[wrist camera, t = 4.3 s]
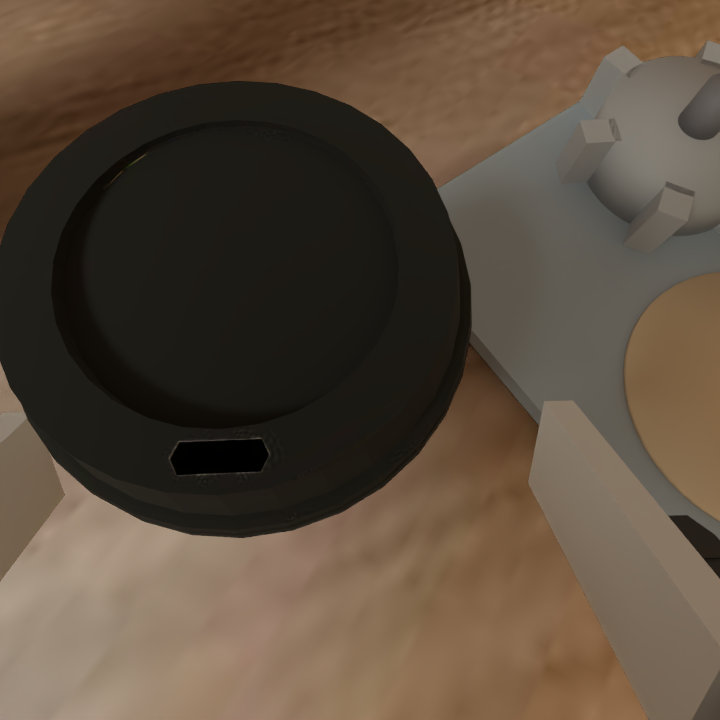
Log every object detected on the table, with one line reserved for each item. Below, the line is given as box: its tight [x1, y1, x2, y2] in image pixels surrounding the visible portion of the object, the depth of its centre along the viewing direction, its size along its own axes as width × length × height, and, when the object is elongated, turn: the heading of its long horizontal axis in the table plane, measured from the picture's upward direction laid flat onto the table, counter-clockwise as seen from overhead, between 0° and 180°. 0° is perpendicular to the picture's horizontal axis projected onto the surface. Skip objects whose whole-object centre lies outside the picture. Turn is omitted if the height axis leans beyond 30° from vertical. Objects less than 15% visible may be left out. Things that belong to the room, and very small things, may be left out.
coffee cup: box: [0, 81, 472, 538], centre depth 16 cm, size 10×10×15 cm
